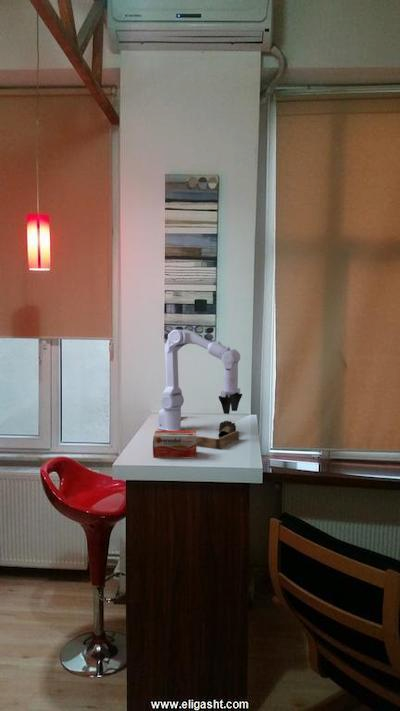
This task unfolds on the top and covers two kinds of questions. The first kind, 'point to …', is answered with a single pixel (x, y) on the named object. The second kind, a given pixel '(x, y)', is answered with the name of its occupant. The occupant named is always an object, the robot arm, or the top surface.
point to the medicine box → (174, 444)
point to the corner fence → (217, 440)
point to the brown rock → (226, 428)
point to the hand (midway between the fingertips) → (230, 412)
